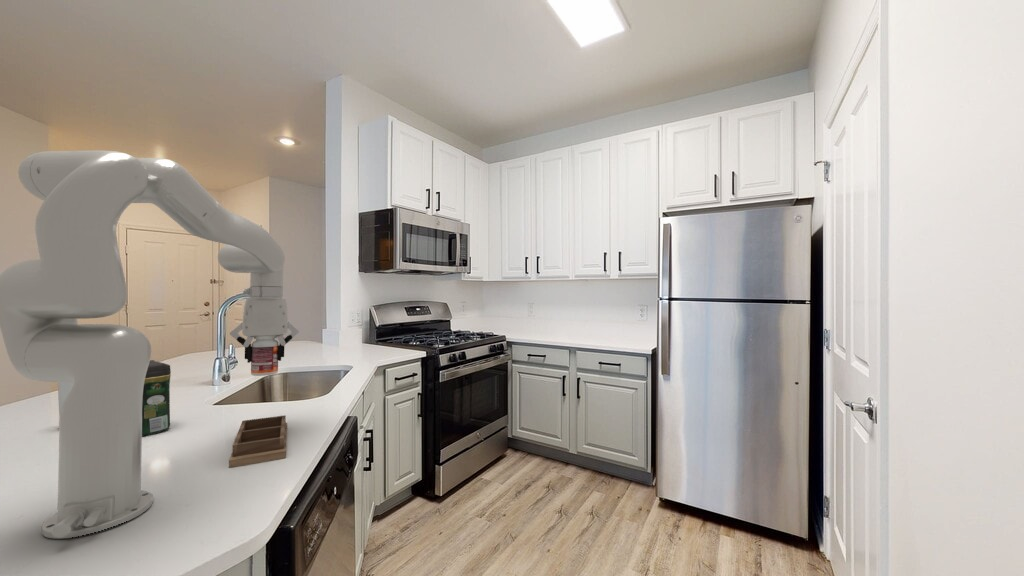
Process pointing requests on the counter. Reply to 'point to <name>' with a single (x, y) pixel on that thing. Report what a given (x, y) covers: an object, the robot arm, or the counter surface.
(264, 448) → the caddy
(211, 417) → the counter surface
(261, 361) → the pill bottle
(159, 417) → the coffee jar
